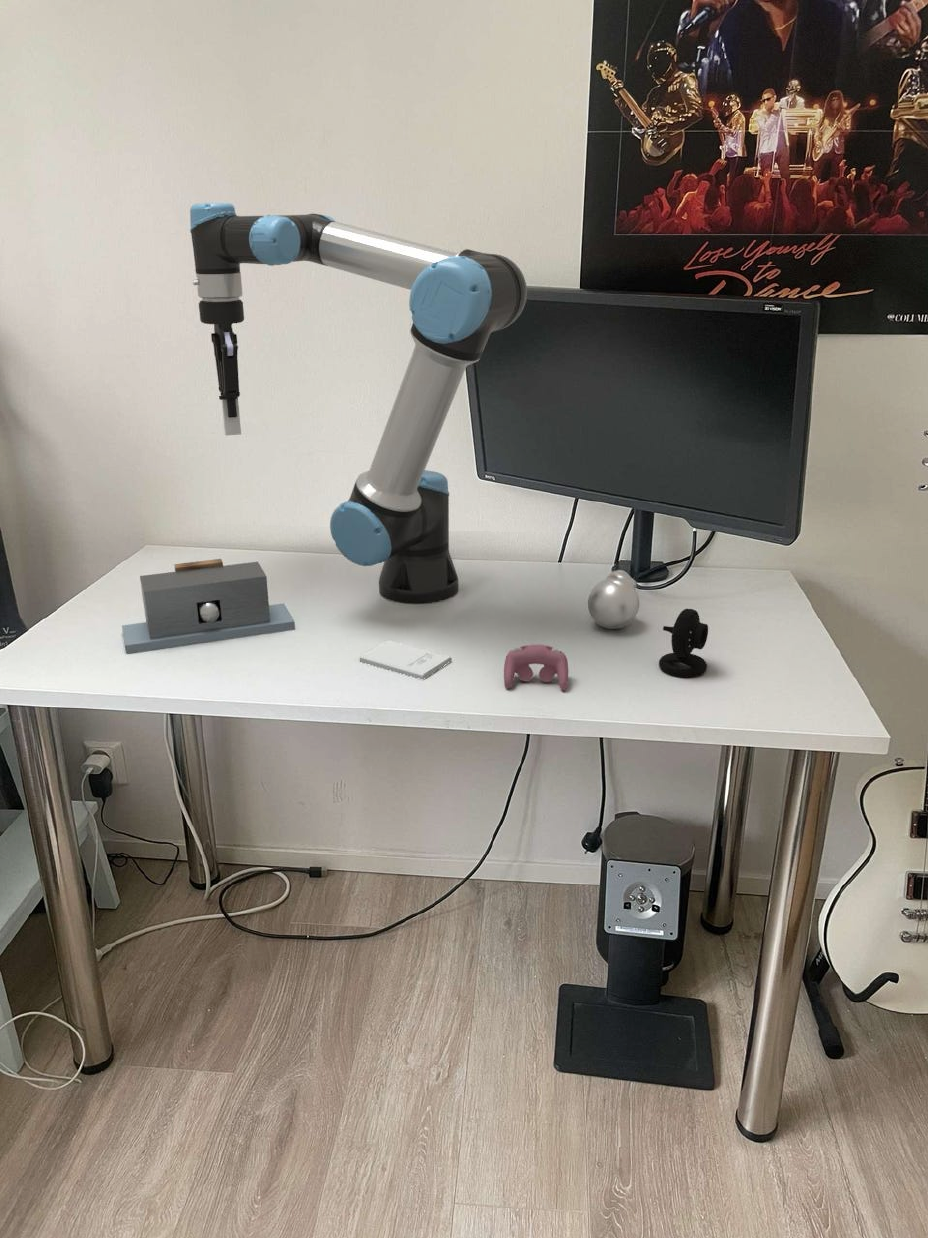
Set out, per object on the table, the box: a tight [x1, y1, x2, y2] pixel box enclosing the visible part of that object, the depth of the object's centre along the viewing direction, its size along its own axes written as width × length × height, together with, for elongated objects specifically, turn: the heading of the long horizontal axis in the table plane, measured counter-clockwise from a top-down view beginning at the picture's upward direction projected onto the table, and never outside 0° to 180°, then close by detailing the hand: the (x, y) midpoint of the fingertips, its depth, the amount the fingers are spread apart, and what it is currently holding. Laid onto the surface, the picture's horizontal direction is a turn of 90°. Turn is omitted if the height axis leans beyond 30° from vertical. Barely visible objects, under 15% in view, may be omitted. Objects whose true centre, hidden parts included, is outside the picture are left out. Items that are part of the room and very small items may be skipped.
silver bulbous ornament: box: [587, 569, 640, 630], centre depth 174 cm, size 9×10×10 cm
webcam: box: [658, 608, 709, 679], centre depth 158 cm, size 8×8×10 cm
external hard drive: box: [359, 639, 452, 680], centre depth 163 cm, size 2×8×12 cm
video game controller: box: [503, 644, 569, 692], centre depth 155 cm, size 10×5×7 cm, turn 85°
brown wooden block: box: [173, 558, 224, 622], centre depth 173 cm, size 8×12×10 cm
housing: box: [121, 561, 296, 655], centre depth 173 cm, size 28×9×10 cm, turn 111°
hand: (233, 433), depth 184 cm, fingers closed
